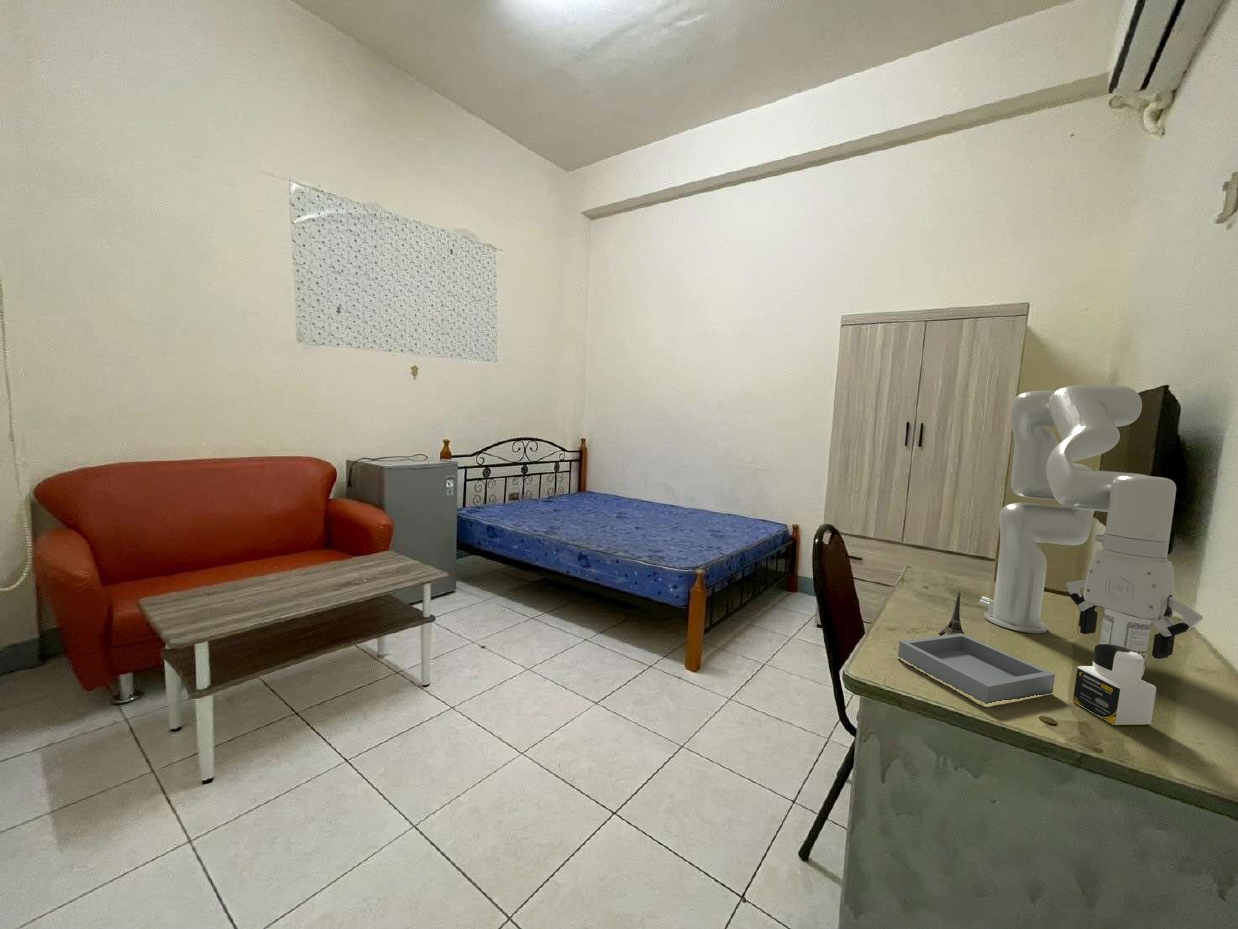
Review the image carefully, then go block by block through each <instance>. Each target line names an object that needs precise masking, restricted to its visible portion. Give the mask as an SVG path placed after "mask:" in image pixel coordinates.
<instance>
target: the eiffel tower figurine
mask: <svg viewBox="0 0 1238 929" xmlns="http://www.w3.org/2000/svg"><path fill="white" fill-rule="evenodd" d="M960 589H961V588H960V587H959V591H957V593H956V594H957V595H956V601H955V605H954V610H953V614H952V617H950V621H949V622H948V624H947V625H945V626H944V628H945V629H944V628H942V630H940V631H939V632H938V633H937V634H939V635H940V636H942V635H945V634H946V635H951V634H959V633H962V634H965V631H963V629H962V628H963V627H962V623H961V622H962V621H961V618H960V617H961V616H960V613H961V612H960V609H961V608H960V604H961V595H962V593H961V592H960V591H961V590H960ZM981 641H982V640H980V642H981ZM982 643H985V642H984V641H983V642H982Z"/></svg>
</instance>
